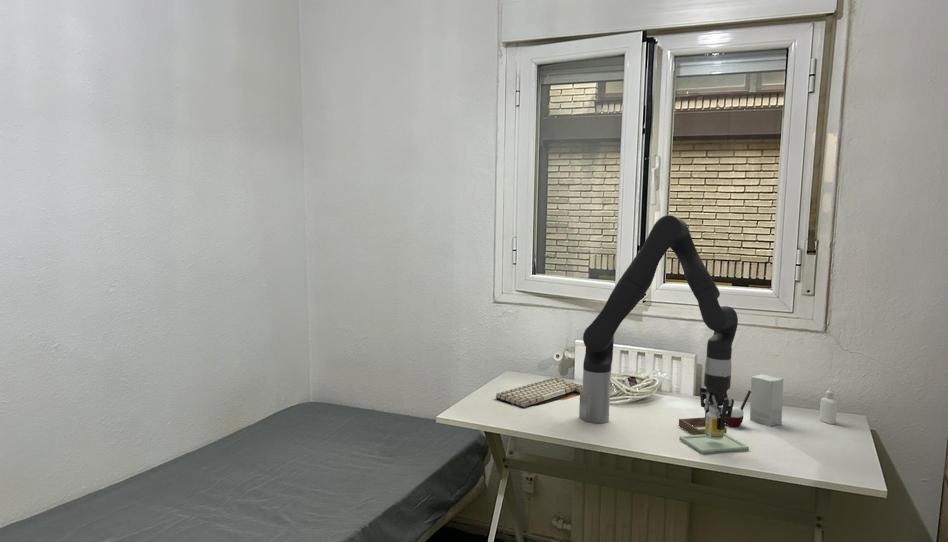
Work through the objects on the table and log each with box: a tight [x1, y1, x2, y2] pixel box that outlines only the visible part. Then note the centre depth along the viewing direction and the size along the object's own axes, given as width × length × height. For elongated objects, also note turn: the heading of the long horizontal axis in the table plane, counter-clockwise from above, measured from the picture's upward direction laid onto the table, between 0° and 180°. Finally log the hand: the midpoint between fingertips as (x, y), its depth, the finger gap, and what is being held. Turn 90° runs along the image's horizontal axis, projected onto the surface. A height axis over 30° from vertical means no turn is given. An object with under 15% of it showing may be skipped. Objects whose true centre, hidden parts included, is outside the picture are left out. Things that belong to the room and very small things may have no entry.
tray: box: [678, 432, 750, 455], centre depth 197 cm, size 16×12×1 cm
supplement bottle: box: [704, 405, 724, 440], centre depth 196 cm, size 5×5×10 cm
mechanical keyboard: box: [495, 376, 583, 409], centre depth 246 cm, size 38×19×3 cm, turn 135°
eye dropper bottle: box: [819, 387, 838, 425], centre depth 221 cm, size 4×6×12 cm
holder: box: [678, 416, 728, 435], centre depth 209 cm, size 11×11×2 cm
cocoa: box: [725, 389, 751, 428], centre depth 215 cm, size 10×6×12 cm, turn 59°
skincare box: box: [749, 373, 784, 427], centre depth 219 cm, size 8×7×16 cm
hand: (714, 425), depth 196 cm, fingers closed on supplement bottle, 5 cm apart
